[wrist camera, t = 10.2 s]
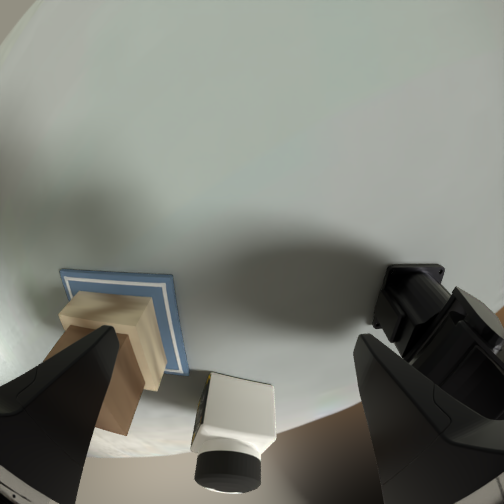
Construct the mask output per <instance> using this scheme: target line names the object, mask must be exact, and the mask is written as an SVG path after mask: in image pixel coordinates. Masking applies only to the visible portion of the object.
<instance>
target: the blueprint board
mask: <svg viewBox="0 0 504 504" xmlns="http://www.w3.org/2000/svg"><path fill="white" fill-rule="evenodd" d="M59 272H60V275H61V278H62V282H63V285H64V288H65V291H66V294H67V297H68V300H69V301H70V300H71V299H72V298H73V297H74V296H75V295H76V294H77V293H78V292H79V291H86V292H96V293H106V294H117V295H129V296H141V297H152V300H153V305H154V310H155V314H156V319H157V323H158V327H159V332H160V336H161V340H162V344H163V348H164V351H165V355H166V359H167V364H166V367H165V370H164V373H165V374H173V375H182V376H189V373H190V372H189V367H188V363H187V358H186V353H185V348H184V343H183V338H182V332H181V327H180V321H179V315H178V309H177V303H176V297H175V290H174V283H173V276H172V275H165V274H142V273H122V272H103V271H87V270H71V269H61V270H60V271H59Z"/></svg>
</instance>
